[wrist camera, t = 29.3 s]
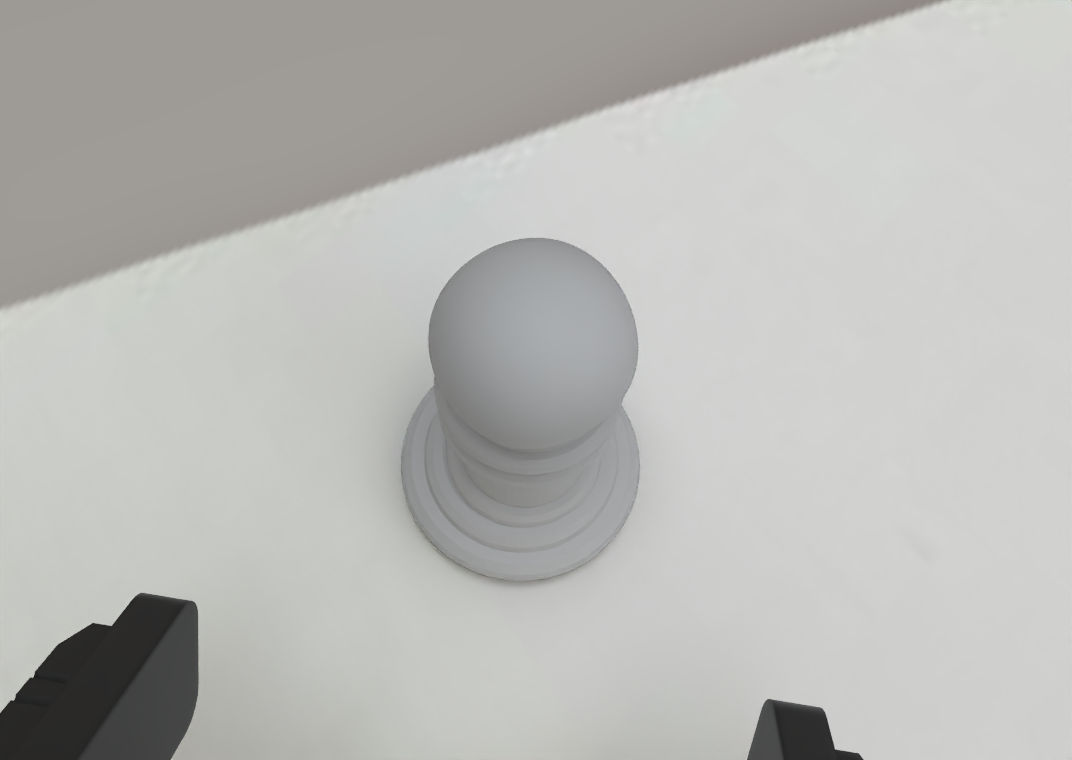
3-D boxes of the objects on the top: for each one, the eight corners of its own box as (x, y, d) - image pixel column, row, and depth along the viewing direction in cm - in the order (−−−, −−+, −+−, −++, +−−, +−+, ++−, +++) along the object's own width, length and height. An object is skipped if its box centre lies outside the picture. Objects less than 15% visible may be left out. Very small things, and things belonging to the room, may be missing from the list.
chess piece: (680, 515, 22) (788, 365, 14) (469, 629, 21) (447, 541, 13) (566, 324, 24) (600, 85, 15) (364, 420, 23) (283, 222, 14)
